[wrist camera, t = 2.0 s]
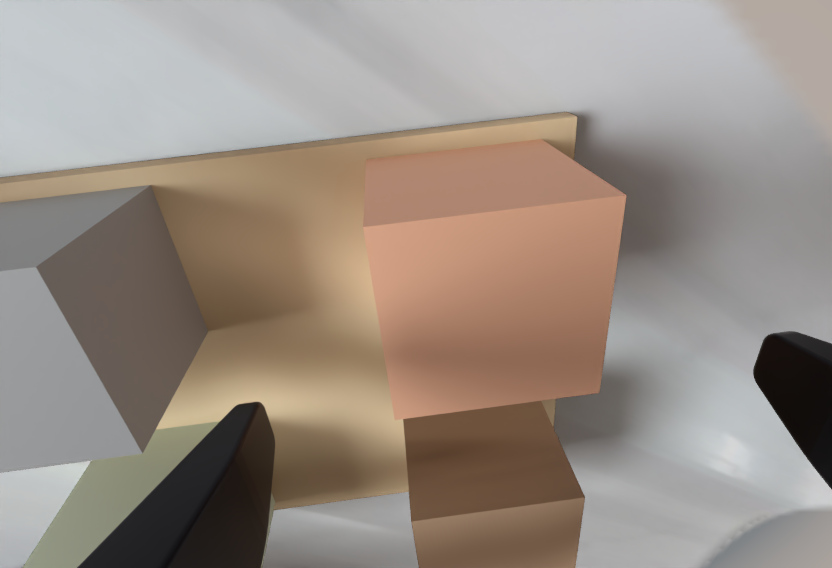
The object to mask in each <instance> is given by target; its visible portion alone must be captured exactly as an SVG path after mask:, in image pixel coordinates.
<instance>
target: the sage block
mask: <svg viewBox="0 0 832 568" xmlns="http://www.w3.org/2000/svg"><path fill="white" fill-rule="evenodd" d="M219 422H220V421H218V422H211V423H203V424H195V425H188V426H180V427H173V428H165V429H157V430H155V432H154V433H153V435H152V437H151V439H150V441H149V443H148V445H147V447H146V448H145V450H144V452H143V454H137V455H129V456H121V457H114V458H106V459H99V460H92V461H91V462H90V464H89V466H88V467H87V469H86V470H85V472H84V473H83V475H82V476H81V478H80V479H79V481H78V483H77V484H76V486H75V487H74V489H73V490H72V492H71V493H70V495H69V497H68V498H67V500H66V501H65V503H64V504H63V506H62V507H61V509H60V510H59V512H58V514H57V515H56V517H55V518H54V520H53V521H52V523H51V524H50V526H49V527H48V529H47V531H46V532H45V534H44V535H43V537H42V538H41V540H40V541H39V543H38V545H37V546H36V548H35V549H34V551H33V552H32V554H31V555H30V557H29V558H28V560H27V562H26V563H25V565H24V566H23V568H77V567H78V566H79V565H80V564H81V563H82V562H83V561H84V560H85V559H86V558H87V557H88V556H89V555H90V554H91V553H92V552H93V551H94V550H95V549H96V548H97V547H98V545H99V544H100V543H101V542H102V541H103V540H104V539H105V538H106V537H107V536H108V535H109V534H110V533H111V532H112V531H113V530H114V529H115V528H116V527H117V526H118V525H119V524H120V523H121V522H122V521H123V520H124V519H125V518H126V517H127V516H128V515H129V514H130V513H131V512H132V511H133V510H134V509H135V508H136V507H137V506H138V505H139V504H140V503H141V502H142V501H143V500H144V499H145V498H146V496H147V495H148V494H149V493H150V492H151V491H152V490H153V489H154V488H155V487H156V486H157V485H158V484H159V483H160V482H161V481H162V480H163V479H164V478H165V477H166V476H167V475H168V474H169V473H170V472H171V471H172V470H173V469H174V468H175V467H176V466H177V465H178V464H179V463H180V462H181V461H182V460H183V459H184V458H185V457H186V456H187V455H188V454H189V453H190V452H191V451H192V450H193V449H194V447H195V446H196V445H197V444H198V443H199V442H200V441H201V440H202V439H203V438H204V437H205V436H206V435H207V434H208V433H209V432H210V431H211V430H212V429H213V428H214V427H215V426H216V425H217V424H218V423H219ZM274 506H275V500H274V498H273V495H272V493H271V502H270V513H269V523H268V532H267V539H266V544H265V550H264V555H263V560H262V565H263V561H264V556H265V551H266V546H267V541H268V536H269V531H270V526H271V521H272V516H273V511H274ZM262 565H261V568H262Z"/></svg>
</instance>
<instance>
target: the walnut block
mask: <svg viewBox="0 0 832 568" xmlns="http://www.w3.org/2000/svg"><path fill="white" fill-rule="evenodd" d="M403 423H404V436H405V448H406V460H407V473H408V485H409V498H410V510H411V522H412V528H413V534H414V540H415V546H416V552H417V559H418V565H419V568H575V566H576V558H577V551H578V544H579V537H580V529H581V522H582V515H583V508H584V500H585V496H584V494H583V492H582V490H581V488H580V485H579V483H578V481H577V479H576V477H575V474H574V472H573V470H572V468H571V466H570V463H569V461H568V459H567V457H566V455H565V452H564V450H563V448H562V446H561V444H560V441H559V439H558V437H557V435H556V433H555V430H554V428H553V426H552V424H551V422H550V419H549V417H548V415H547V413H546V411H545V408H544V406H543V404H542V402H541V401H535V402H528V403H520V404H513V405H505V406H498V407H490V408H482V409H475V410H467V411H460V412H452V413H445V414H437V415H430V416H422V417H415V418H407V419H403Z"/></svg>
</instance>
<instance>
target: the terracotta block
mask: <svg viewBox="0 0 832 568" xmlns="http://www.w3.org/2000/svg"><path fill="white" fill-rule="evenodd" d="M626 196H627V195H626V194H624V193H622V192H621V191H619V190H618V189H616V188H615V187H613V186H612V185H610V184H609V183H607V182H606V181H604V180H603V179H601V178H600V177H598V176H597V175H595V174H594V173H592V172H591V171H589V170H588V169H586V168H585V167H583V166H581V165H580V164H578V163H577V162H575V161H574V160H572V159H571V158H569V157H568V156H566V155H565V154H563V153H562V152H560V151H559V150H557V149H556V148H554V147H553V146H551V145H550V144H548V143H547V142H545V141H544V140H542V139H537V140H529V141H520V142H512V143H503V144H495V145H486V146H478V147H469V148H461V149H452V150H444V151H435V152H427V153H418V154H410V155H401V156H393V157H384V158H375V159H367V160H366V170H365V193H364V217H363V230H364V236H365V242H366V248H367V254H368V260H369V267H370V273H371V279H372V285H373V291H374V297H375V303H376V309H377V315H378V321H379V327H380V333H381V340H382V346H383V352H384V358H385V364H386V370H387V376H388V382H389V388H390V394H391V400H392V406H393V413H394V419H395V420H400V419H407V418H415V417H422V416H430V415H437V414H445V413H452V412H460V411H467V410H475V409H482V408H490V407H498V406H505V405H513V404H520V403H528V402H535V401H543V400H550V399H558V398H565V397H573V396H580V395H588V394H595V393H599V392H600V384H601V377H602V370H603V363H604V355H605V348H606V341H607V334H608V326H609V319H610V312H611V305H612V297H613V290H614V283H615V276H616V268H617V261H618V254H619V247H620V239H621V232H622V225H623V218H624V210H625V203H626Z"/></svg>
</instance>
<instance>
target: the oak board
mask: <svg viewBox="0 0 832 568" xmlns="http://www.w3.org/2000/svg"><path fill="white" fill-rule="evenodd" d="M576 127H577V116H575V115H573V114H570V113H568V112H562V113H553V114H545V115H536V116H528V117H519V118H510V119H502V120H493V121H484V122H476V123H467V124H459V125H450V126H441V127H433V128H424V129H416V130H407V131H398V132H390V133H381V134H373V135H364V136H355V137H347V138H338V139H329V140H321V141H312V142H304V143H295V144H286V145H278V146H269V147H261V148H252V149H243V150H235V151H226V152H218V153H209V154H200V155H192V156H183V157H174V158H166V159H157V160H149V161H140V162H131V163H123V164H114V165H106V166H97V167H88V168H80V169H71V170H63V171H54V172H45V173H37V174H28V175H19V176H11V177H2V178H0V203H1V202H10V201H18V200H27V199H35V198H44V197H52V196H61V195H69V194H78V193H86V192H95V191H103V190H112V189H120V188H129V187H137V186H146V185H151V187H152V189H153V192H154V195H155V197H156V200H157V202H158V205H159V207H160V210H161V212H162V215H163V217H164V220H165V223H166V225H167V228H168V230H169V233H170V235H171V238H172V240H173V243H174V245H175V248H176V251H177V253H178V256H179V258H180V261H181V263H182V266H183V268H184V271H185V273H186V276H187V279H188V281H189V284H190V286H191V289H192V291H193V294H194V296H195V299H196V301H197V304H198V307H199V309H200V312H201V314H202V317H203V319H204V322H205V324H206V327H207V330H208V333H207V335H206V337H205V339H204V340H203V342H202V344H201V346H200V348H199V350H198V352H197V353H196V355H195V357H194V359H193V361H192V363H191V365H190V366H189V368H188V370H187V372H186V374H185V376H184V378H183V379H182V381H181V383H180V385H179V387H178V389H177V391H176V393H175V394H174V396H173V398H172V400H171V402H170V404H169V406H168V407H167V409H166V411H165V413H164V415H163V417H162V419H161V420H160V422H159V424H158V426H157V428H156V430H157V429H165V428H173V427H180V426H188V425H195V424H203V423H211V422H218V421H221V420H222V419H223V418H224V417H225V416H226V415H227V414H228V413H229V412H230V411H231V410H232V409H233V408H234V407H235V406H236V405H238V404H243V403H250V402H261V403H262V404H263V405H264V407H265V410H266V413H267V416H268V418H269V421H270V424H271V427H272V430H273V433H274V437H275V457H274V468H273V479H272V490H271V493H272V495H273V498H274V500H275V506H274V510H278V509H285V508H293V507H300V506H307V505H315V504H322V503H329V502H336V501H344V500H351V499H358V498H366V497H373V496H380V495H387V494H395V493H402V492H409V485H408V473H407V460H406V448H405V436H404V423H403V419H400V420H395V419H394V413H393V406H392V400H391V394H390V388H389V382H388V376H387V370H386V364H385V358H384V352H383V346H382V340H381V333H380V327H379V321H378V315H377V309H376V303H375V297H374V291H373V285H372V279H371V273H370V267H369V260H368V254H367V248H366V242H365V236H364V230H363V217H364V193H365V170H366V160H367V159H375V158H384V157H393V156H401V155H410V154H418V153H427V152H435V151H444V150H452V149H461V148H469V147H478V146H486V145H495V144H503V143H512V142H520V141H529V140H537V139H542V140H544V141H545V142H547V143H548V144H550V145H551V146H553V147H554V148H556V149H557V150H559V151H560V152H562V153H563V154H565V155H566V156H568V157H569V158H571V159H572V160H574V153H575V140H576ZM541 402H542V404H543V406H544V408H545V411H546V413H547V415H548V417H549V419H550V422H551V424H552V426H553V428H554V417H555V404H556V399H550V400H543V401H541Z"/></svg>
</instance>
